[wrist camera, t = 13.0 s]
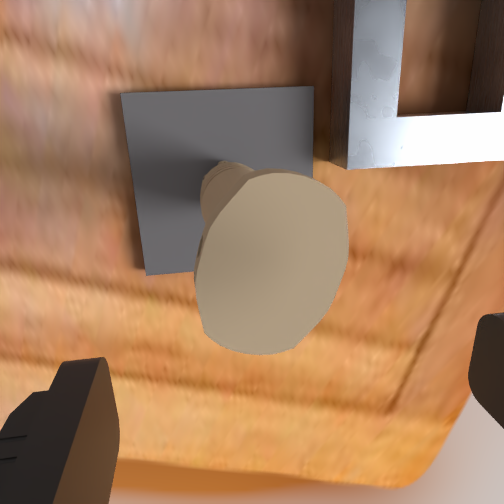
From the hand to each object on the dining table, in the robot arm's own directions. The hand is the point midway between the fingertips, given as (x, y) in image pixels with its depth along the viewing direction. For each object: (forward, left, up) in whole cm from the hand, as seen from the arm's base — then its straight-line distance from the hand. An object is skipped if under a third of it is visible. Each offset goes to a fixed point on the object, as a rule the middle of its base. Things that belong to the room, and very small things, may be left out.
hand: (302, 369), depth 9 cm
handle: (0, 0, -20) cm, 20 cm away
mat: (0, 0, -21) cm, 21 cm away
